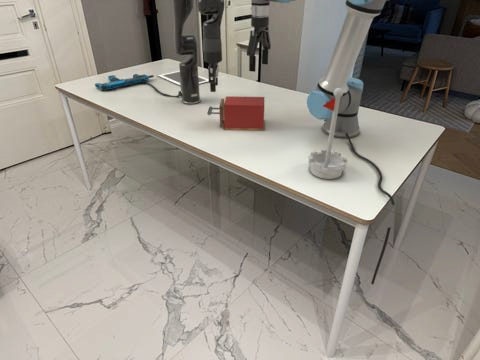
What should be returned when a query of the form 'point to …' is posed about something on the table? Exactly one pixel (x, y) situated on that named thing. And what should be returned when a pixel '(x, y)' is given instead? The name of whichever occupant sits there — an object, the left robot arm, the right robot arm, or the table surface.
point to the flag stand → (329, 148)
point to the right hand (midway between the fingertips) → (258, 67)
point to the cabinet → (244, 113)
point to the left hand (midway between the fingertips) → (214, 88)
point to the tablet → (176, 78)
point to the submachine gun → (122, 81)
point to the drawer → (221, 109)
